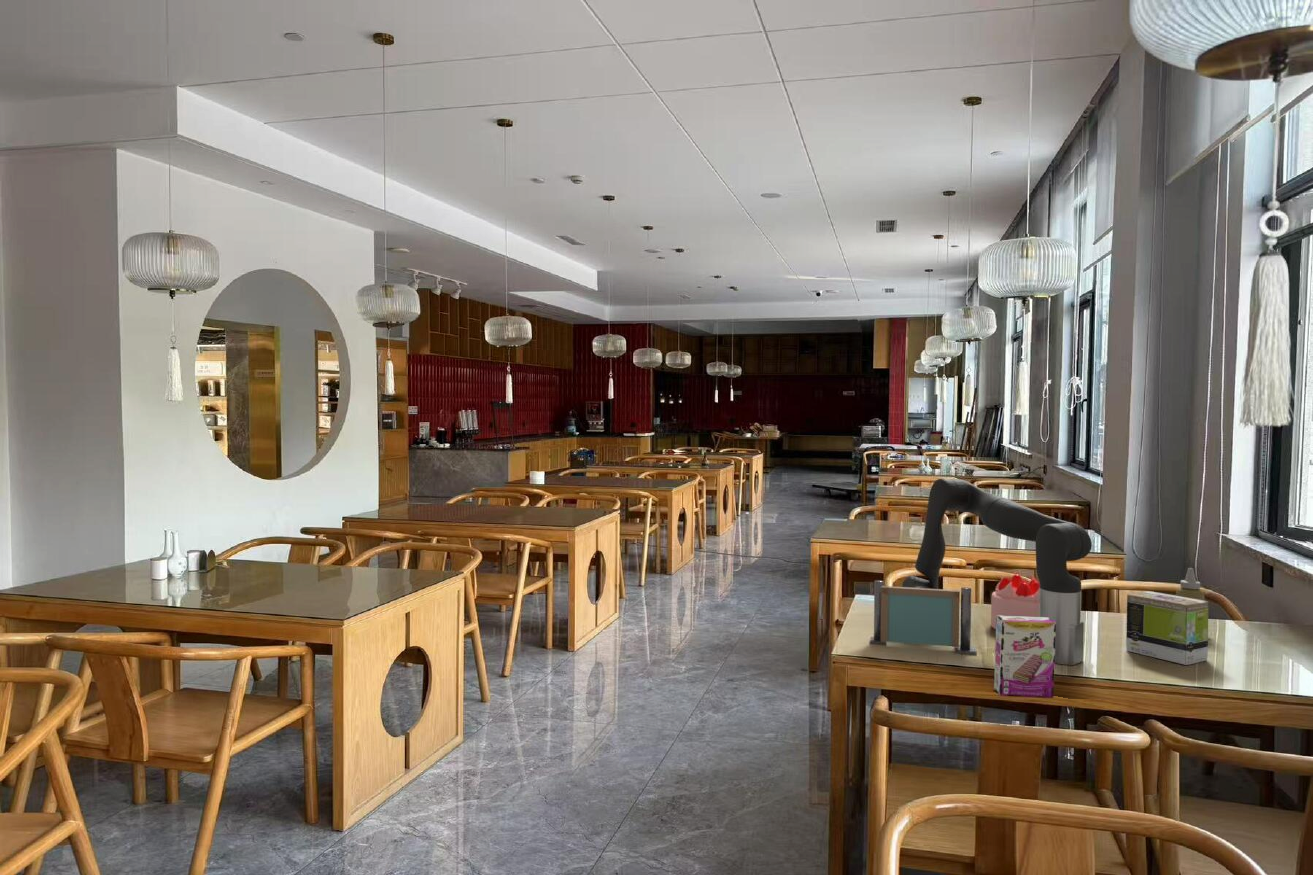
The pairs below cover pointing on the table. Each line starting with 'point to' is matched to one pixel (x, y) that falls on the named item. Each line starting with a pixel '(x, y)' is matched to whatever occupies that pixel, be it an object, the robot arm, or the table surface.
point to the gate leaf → (920, 616)
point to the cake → (1015, 598)
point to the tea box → (1167, 627)
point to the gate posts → (965, 620)
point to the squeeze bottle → (1190, 587)
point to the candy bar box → (1025, 656)
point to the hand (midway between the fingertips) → (921, 615)
